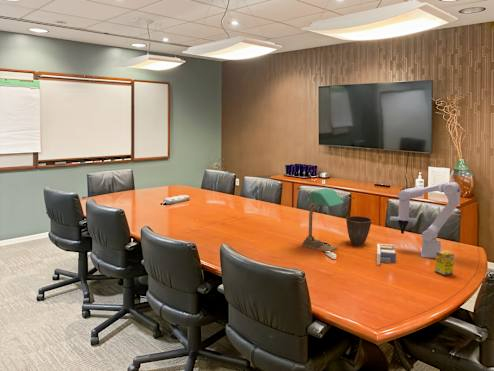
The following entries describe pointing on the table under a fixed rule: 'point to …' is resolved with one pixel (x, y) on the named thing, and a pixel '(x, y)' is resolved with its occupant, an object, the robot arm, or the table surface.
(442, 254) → the supplement box
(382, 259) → the book rack
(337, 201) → the banker's lamp
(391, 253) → the boxed book
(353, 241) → the plant pot
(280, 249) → the table surface
